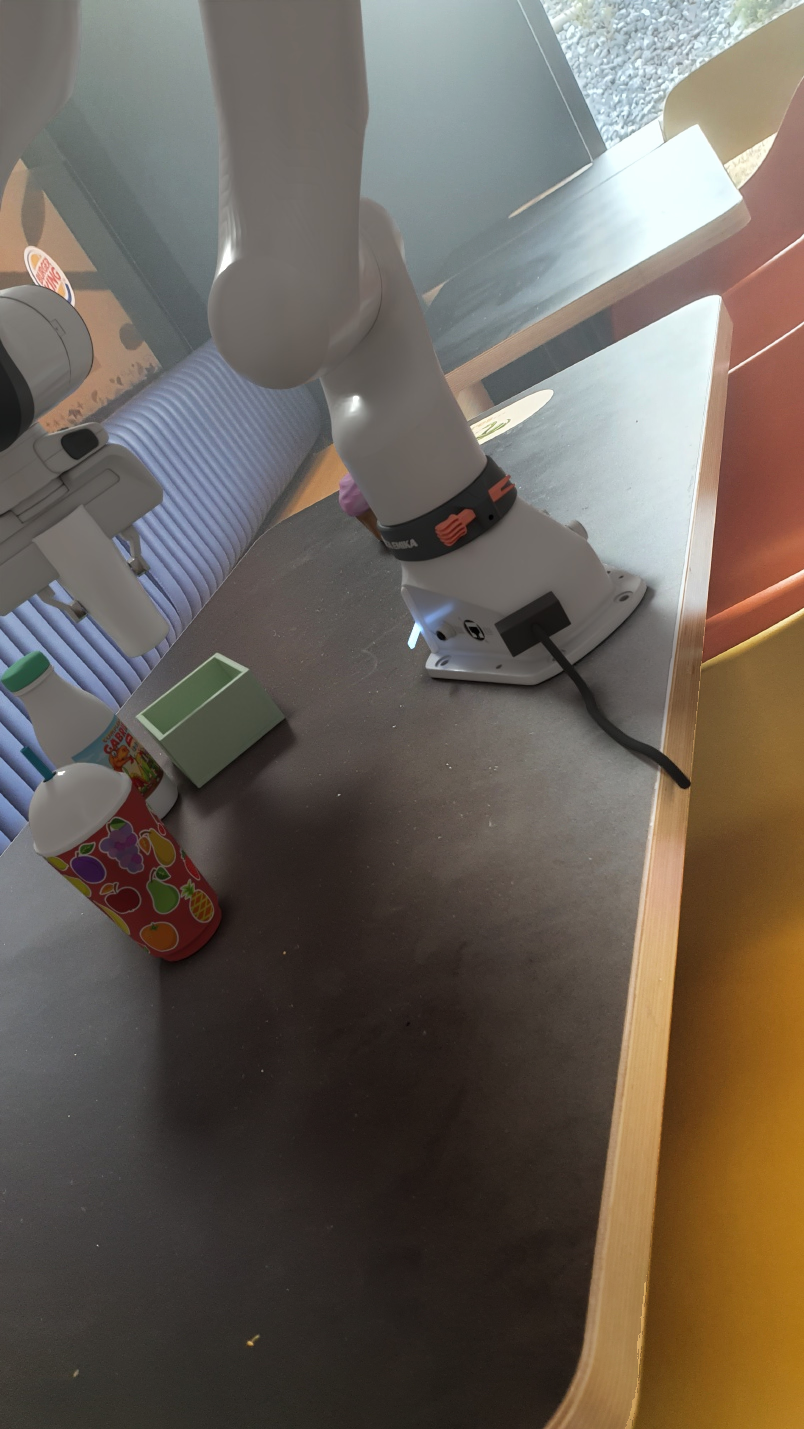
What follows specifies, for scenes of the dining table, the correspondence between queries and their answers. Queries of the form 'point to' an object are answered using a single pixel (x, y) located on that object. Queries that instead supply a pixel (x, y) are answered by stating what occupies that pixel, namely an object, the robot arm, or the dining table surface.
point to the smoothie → (121, 857)
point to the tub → (210, 718)
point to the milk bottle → (84, 729)
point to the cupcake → (357, 505)
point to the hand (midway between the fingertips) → (113, 595)
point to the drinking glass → (103, 582)
